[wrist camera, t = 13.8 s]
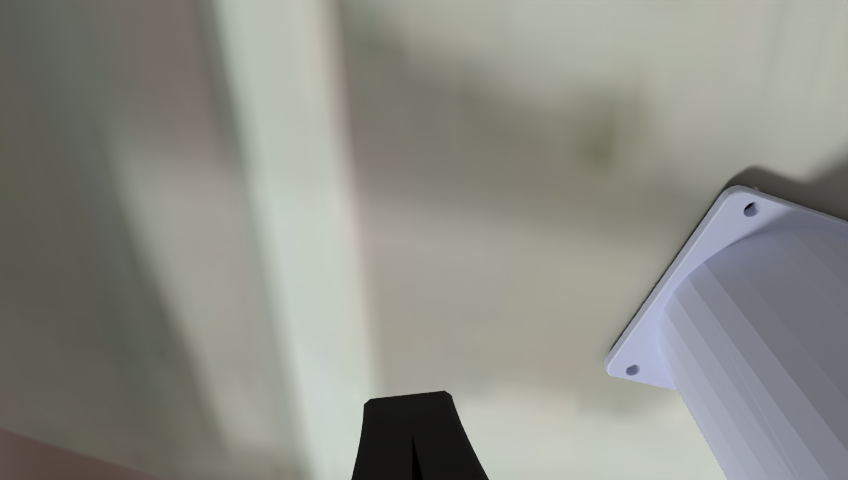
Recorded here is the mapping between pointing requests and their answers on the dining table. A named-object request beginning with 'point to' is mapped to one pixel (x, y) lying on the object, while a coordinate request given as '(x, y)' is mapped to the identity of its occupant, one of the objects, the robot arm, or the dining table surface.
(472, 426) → the dining table surface
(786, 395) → the robot arm
